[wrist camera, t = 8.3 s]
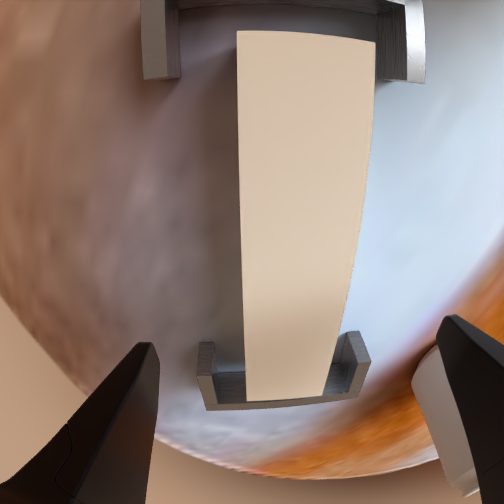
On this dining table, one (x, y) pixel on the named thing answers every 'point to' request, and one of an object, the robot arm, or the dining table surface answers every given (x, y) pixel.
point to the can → (444, 422)
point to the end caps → (389, 68)
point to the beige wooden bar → (299, 199)
